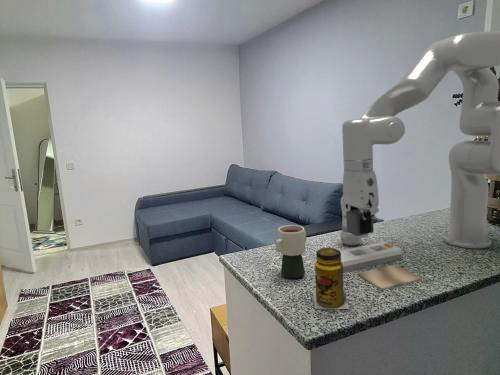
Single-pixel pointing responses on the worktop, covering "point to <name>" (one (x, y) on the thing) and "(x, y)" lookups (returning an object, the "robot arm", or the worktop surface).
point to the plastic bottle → (345, 235)
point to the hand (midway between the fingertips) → (360, 229)
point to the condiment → (329, 280)
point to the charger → (356, 223)
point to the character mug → (291, 249)
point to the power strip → (369, 256)
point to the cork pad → (388, 277)
